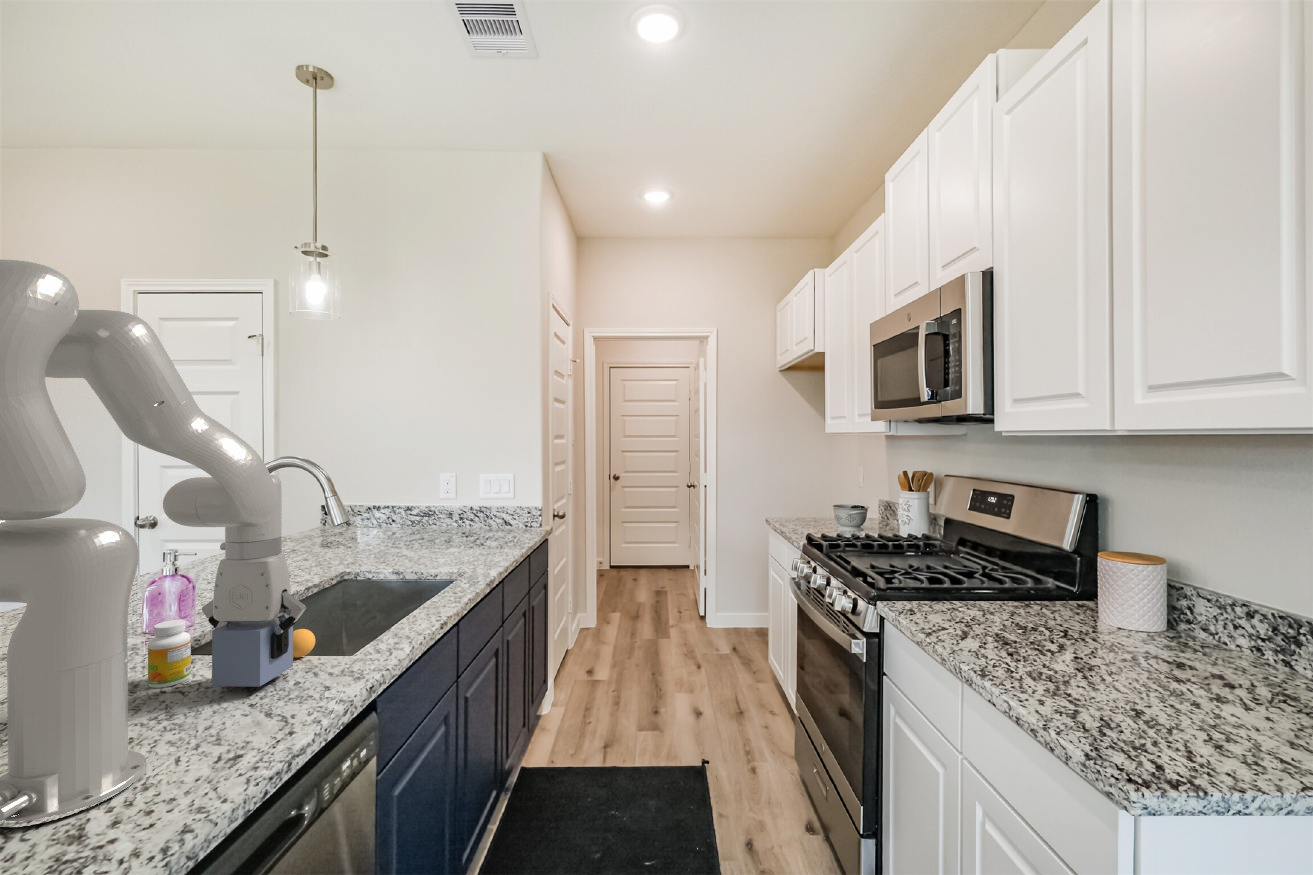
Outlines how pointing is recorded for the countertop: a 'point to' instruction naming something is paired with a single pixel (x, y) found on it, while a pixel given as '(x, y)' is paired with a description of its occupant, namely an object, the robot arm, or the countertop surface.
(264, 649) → the slate blue rectangular box
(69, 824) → the countertop surface
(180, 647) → the supplement bottle
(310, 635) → the egg
